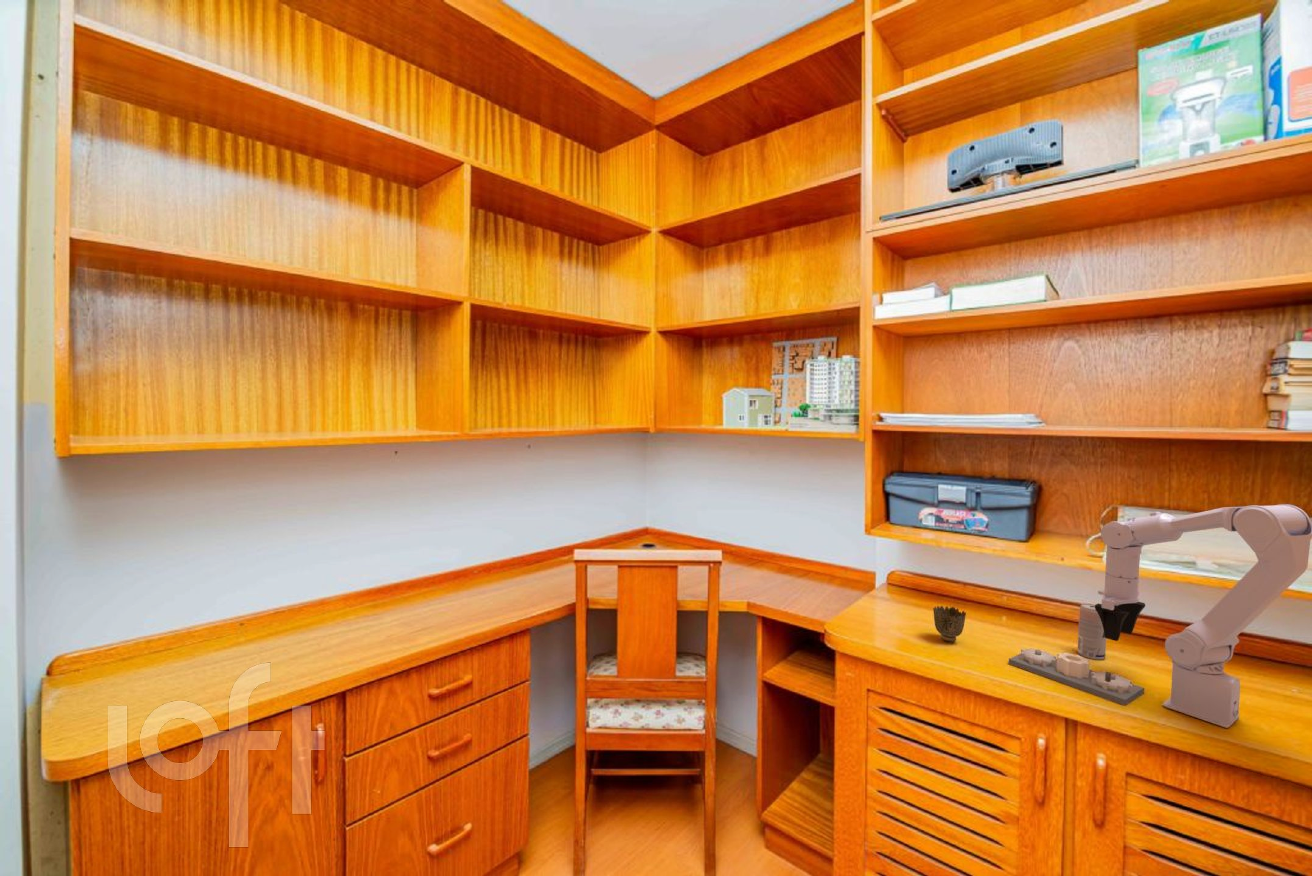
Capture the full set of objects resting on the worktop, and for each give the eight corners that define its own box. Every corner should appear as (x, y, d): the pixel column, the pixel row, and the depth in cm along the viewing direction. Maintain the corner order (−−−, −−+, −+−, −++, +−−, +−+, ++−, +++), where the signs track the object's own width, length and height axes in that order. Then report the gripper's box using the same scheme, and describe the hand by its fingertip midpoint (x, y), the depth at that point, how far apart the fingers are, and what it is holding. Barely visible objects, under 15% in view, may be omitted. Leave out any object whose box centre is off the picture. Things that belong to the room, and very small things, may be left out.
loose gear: (1094, 674, 124) (1094, 660, 124) (1082, 680, 121) (1083, 666, 121) (1063, 664, 129) (1064, 650, 129) (1051, 670, 126) (1052, 656, 126)
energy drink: (1106, 655, 137) (1109, 607, 136) (1103, 662, 133) (1105, 612, 133) (1079, 649, 141) (1082, 601, 140) (1075, 655, 137) (1077, 606, 137)
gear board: (1143, 693, 118) (1145, 672, 118) (1125, 705, 113) (1126, 683, 113) (1029, 654, 137) (1030, 636, 137) (1008, 663, 131) (1009, 644, 131)
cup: (971, 645, 142) (972, 614, 141) (946, 647, 140) (947, 616, 140) (950, 634, 149) (951, 604, 149) (925, 636, 147) (927, 605, 147)
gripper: (1113, 566, 132) (1110, 623, 132) (1086, 575, 124) (1083, 635, 125) (1151, 574, 126) (1148, 634, 126) (1126, 583, 118) (1122, 647, 119)
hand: (1118, 635), depth 125 cm, fingers open, 7 cm apart
